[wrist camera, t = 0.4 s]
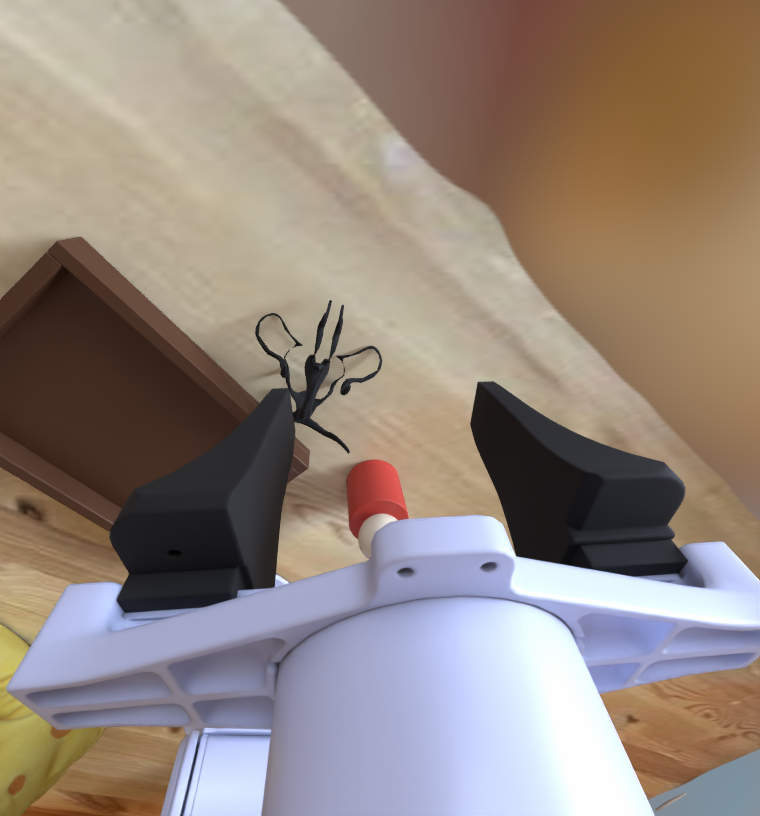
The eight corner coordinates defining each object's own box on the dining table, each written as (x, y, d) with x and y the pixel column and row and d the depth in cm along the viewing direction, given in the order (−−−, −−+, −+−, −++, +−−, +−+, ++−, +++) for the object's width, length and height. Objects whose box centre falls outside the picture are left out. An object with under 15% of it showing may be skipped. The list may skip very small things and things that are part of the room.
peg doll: (367, 509, 31) (377, 587, 25) (335, 479, 30) (337, 556, 23) (408, 482, 31) (429, 557, 24) (378, 450, 29) (392, 522, 23)
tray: (177, 545, 31) (167, 567, 29) (-70, 388, 23) (-105, 405, 21) (310, 450, 28) (309, 468, 26) (81, 236, 20) (56, 240, 18)
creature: (270, 278, 23) (236, 403, 25) (263, 275, 18) (220, 431, 20) (391, 322, 26) (353, 434, 27) (415, 330, 20) (365, 467, 22)
